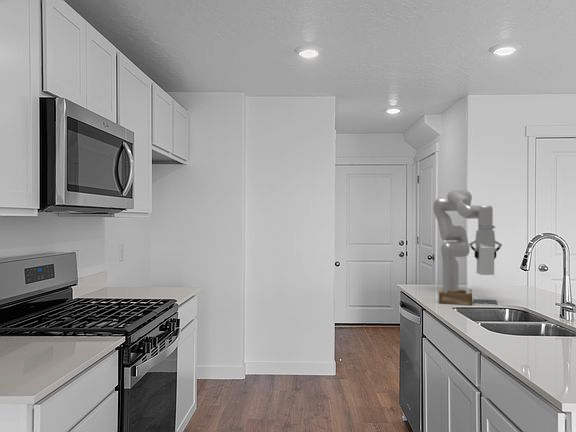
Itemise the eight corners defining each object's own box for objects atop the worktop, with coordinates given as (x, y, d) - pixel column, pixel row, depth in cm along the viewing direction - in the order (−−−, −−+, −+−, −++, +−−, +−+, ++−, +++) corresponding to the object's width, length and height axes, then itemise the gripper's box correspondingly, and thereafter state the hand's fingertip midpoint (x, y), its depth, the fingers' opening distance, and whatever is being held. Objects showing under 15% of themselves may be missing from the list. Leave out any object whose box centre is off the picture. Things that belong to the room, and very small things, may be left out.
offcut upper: (446, 295, 285) (446, 290, 285) (460, 294, 289) (460, 289, 289) (451, 296, 281) (451, 291, 281) (465, 295, 285) (465, 290, 285)
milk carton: (494, 275, 275) (494, 240, 275) (481, 275, 276) (481, 240, 276) (489, 273, 283) (489, 239, 282) (476, 273, 283) (476, 239, 283)
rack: (440, 298, 291) (440, 288, 291) (471, 300, 285) (471, 289, 285) (439, 303, 275) (438, 292, 275) (472, 305, 269) (472, 294, 269)
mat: (473, 299, 287) (473, 299, 287) (496, 300, 283) (496, 300, 283) (473, 303, 275) (473, 302, 275) (497, 304, 271) (497, 303, 271)
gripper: (501, 227, 280) (501, 258, 280) (468, 227, 286) (468, 257, 286) (502, 228, 273) (502, 259, 273) (468, 227, 279) (468, 258, 279)
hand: (485, 258), depth 279 cm, fingers closed on milk carton, 8 cm apart
